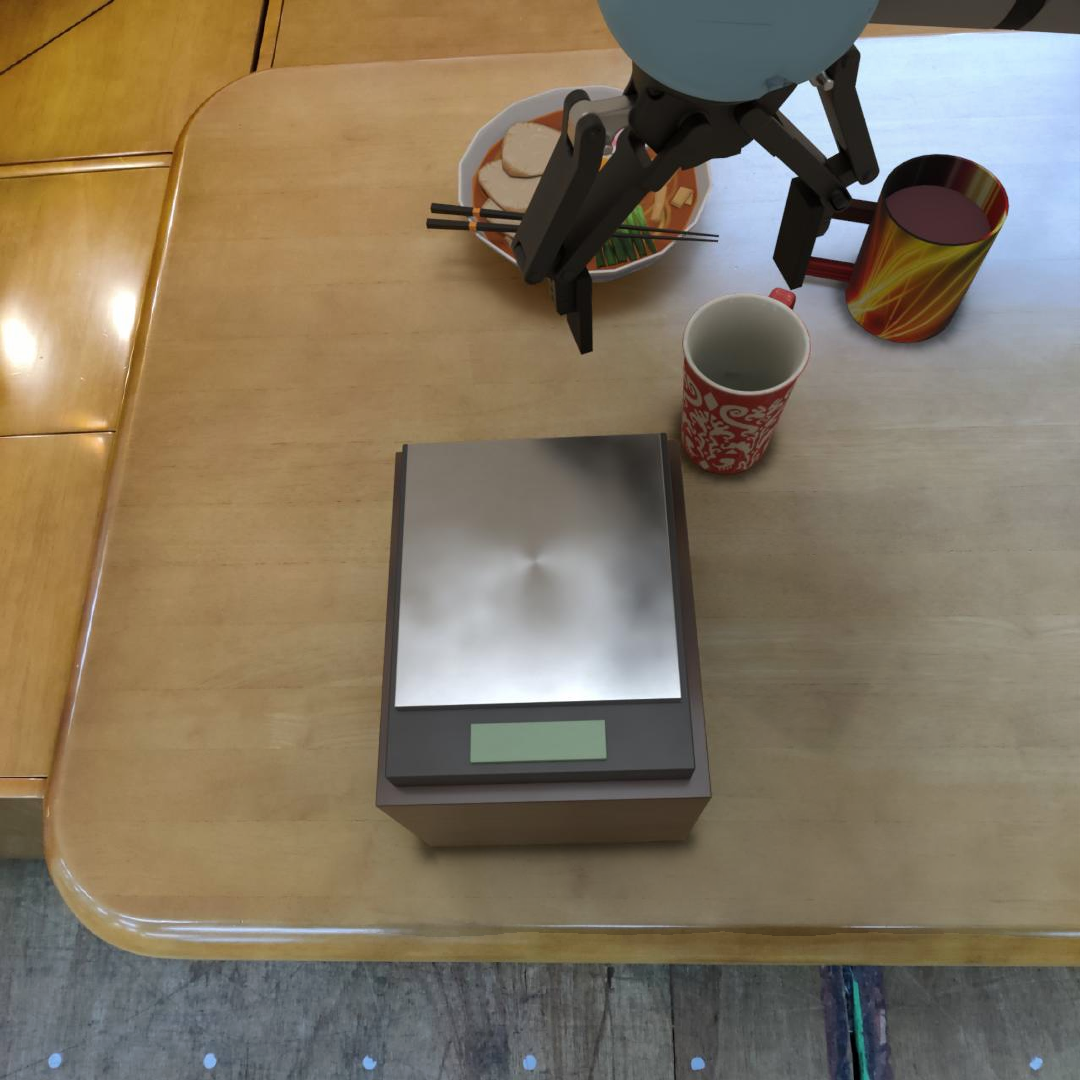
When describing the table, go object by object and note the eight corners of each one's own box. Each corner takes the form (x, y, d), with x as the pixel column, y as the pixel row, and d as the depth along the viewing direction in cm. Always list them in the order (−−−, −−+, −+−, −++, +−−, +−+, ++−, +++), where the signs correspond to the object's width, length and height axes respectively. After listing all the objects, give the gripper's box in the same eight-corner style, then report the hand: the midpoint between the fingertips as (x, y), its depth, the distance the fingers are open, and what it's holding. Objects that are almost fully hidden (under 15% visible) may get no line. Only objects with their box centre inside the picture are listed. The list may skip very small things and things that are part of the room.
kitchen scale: (691, 778, 50) (697, 766, 46) (394, 787, 50) (380, 775, 47) (664, 453, 58) (668, 424, 55) (410, 464, 59) (399, 436, 56)
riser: (684, 840, 65) (712, 797, 49) (430, 846, 66) (374, 806, 50) (662, 555, 75) (679, 439, 58) (439, 563, 75) (395, 451, 59)
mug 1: (745, 504, 76) (773, 415, 64) (650, 453, 79) (659, 358, 66) (817, 394, 80) (856, 290, 68) (724, 349, 83) (746, 241, 70)
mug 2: (787, 274, 86) (814, 173, 75) (933, 249, 86) (982, 144, 75) (817, 359, 82) (851, 265, 71) (971, 332, 82) (1028, 234, 71)
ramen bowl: (727, 157, 92) (738, 85, 85) (703, 344, 83) (713, 282, 76) (481, 137, 95) (471, 67, 88) (432, 315, 86) (416, 253, 79)
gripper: (960, -160, 40) (844, 204, 60) (409, -11, 38) (473, 316, 58) (1053, -59, 37) (899, 291, 56) (459, 110, 35) (509, 412, 55)
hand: (684, 304), depth 57 cm, fingers open, 13 cm apart
